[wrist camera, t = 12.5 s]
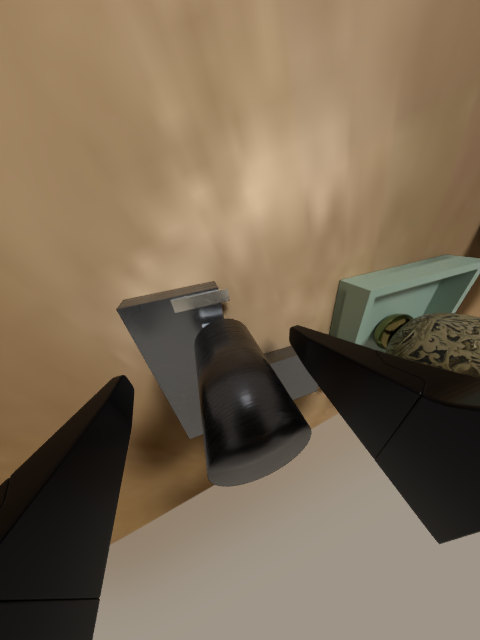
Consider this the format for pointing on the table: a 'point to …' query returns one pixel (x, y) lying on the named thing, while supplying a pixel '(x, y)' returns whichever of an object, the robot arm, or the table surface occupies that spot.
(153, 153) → the table surface
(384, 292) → the tray
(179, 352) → the grey l-bracket
